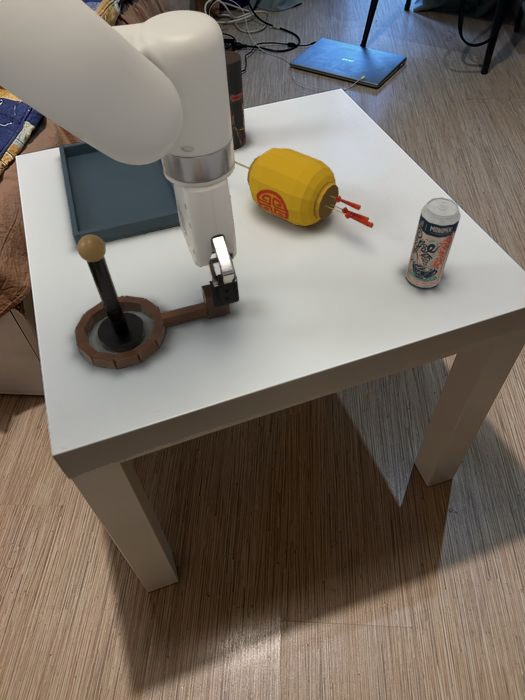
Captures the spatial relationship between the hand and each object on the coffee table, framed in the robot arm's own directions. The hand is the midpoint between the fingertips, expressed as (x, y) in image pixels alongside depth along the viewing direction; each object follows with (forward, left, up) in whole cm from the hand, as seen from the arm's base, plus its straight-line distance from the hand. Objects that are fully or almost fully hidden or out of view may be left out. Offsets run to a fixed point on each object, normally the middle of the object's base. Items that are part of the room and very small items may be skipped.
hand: (215, 277), depth 67 cm
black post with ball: (-13, 0, -6) cm, 15 cm away
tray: (-8, +34, -6) cm, 35 cm away
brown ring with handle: (-9, 0, -6) cm, 11 cm away
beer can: (+29, -4, -6) cm, 29 cm away
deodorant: (+14, +42, -6) cm, 44 cm away
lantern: (+17, +17, -6) cm, 24 cm away
